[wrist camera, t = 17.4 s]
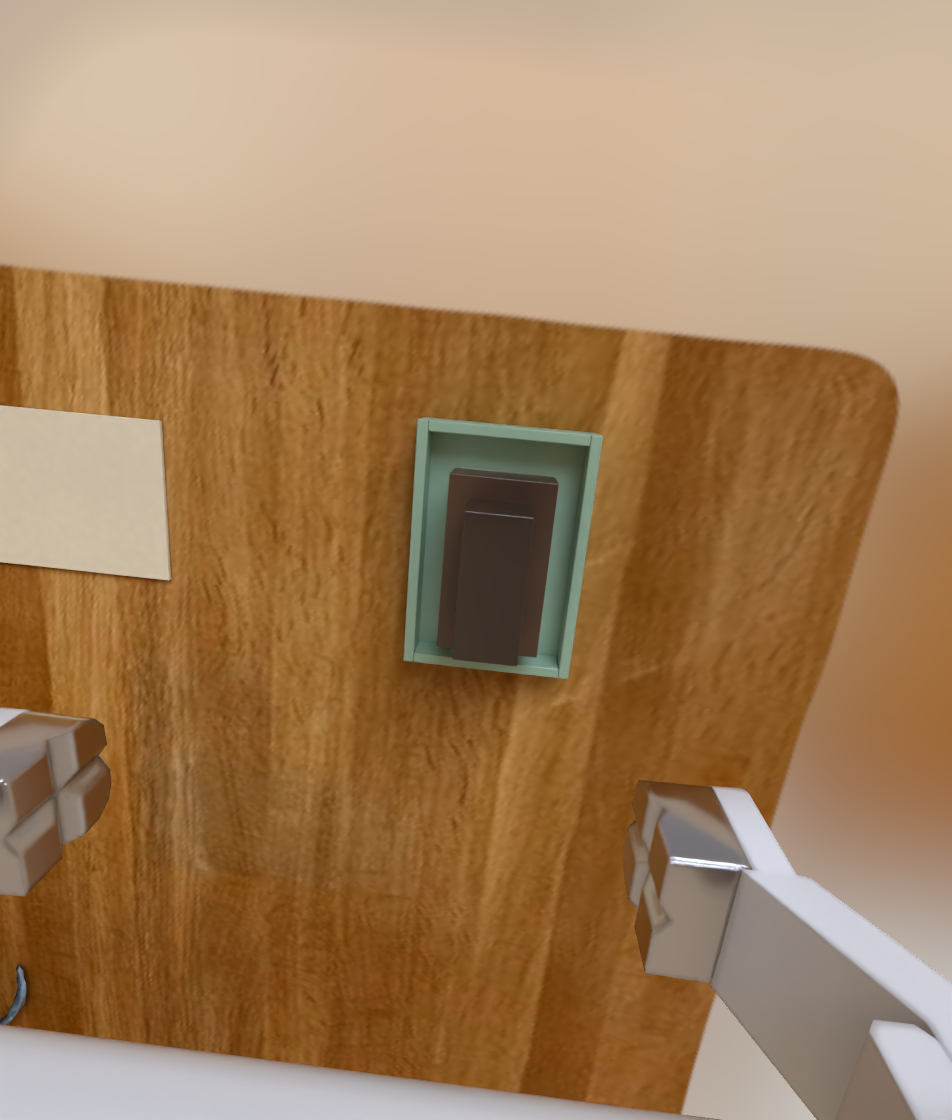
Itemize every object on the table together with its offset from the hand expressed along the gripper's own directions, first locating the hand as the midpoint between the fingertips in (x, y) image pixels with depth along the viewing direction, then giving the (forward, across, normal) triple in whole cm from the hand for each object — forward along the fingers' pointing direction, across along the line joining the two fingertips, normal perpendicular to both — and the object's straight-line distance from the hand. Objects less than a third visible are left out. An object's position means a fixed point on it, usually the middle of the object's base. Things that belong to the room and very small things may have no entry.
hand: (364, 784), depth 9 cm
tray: (+20, -2, +2) cm, 20 cm away
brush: (+20, -2, +2) cm, 20 cm away
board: (+20, +21, +1) cm, 29 cm away
